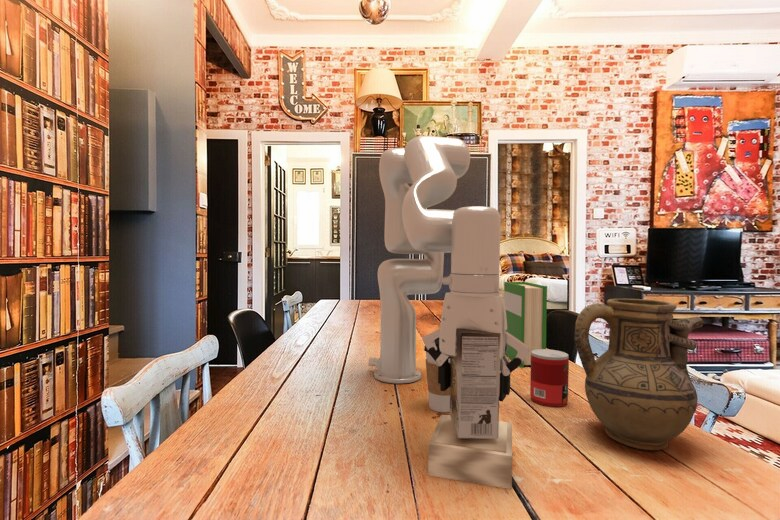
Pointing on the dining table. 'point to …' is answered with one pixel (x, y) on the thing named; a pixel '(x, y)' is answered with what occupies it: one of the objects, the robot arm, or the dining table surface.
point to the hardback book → (526, 316)
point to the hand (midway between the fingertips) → (472, 393)
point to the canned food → (549, 377)
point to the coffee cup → (436, 385)
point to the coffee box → (475, 384)
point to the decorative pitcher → (639, 371)
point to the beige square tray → (471, 455)
